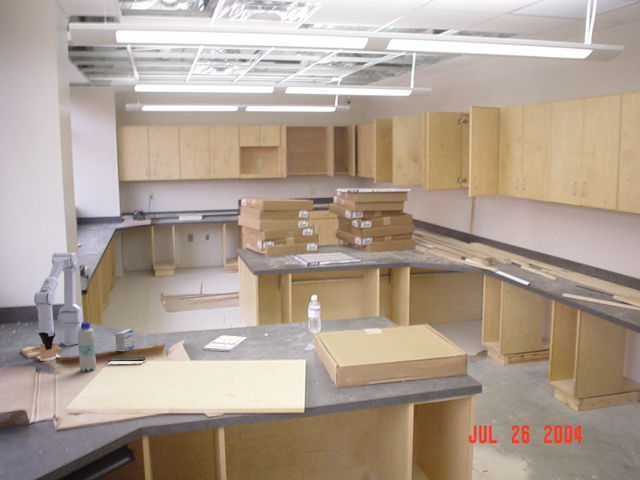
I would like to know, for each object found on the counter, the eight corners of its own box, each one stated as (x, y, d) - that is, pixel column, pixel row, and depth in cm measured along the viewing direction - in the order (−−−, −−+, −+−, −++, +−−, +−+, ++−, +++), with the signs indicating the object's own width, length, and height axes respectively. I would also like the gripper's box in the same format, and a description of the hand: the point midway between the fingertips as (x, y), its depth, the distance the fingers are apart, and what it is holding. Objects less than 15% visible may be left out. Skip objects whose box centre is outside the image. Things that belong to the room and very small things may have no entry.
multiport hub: (111, 362, 241) (111, 357, 240) (145, 361, 241) (145, 356, 241) (108, 365, 236) (107, 360, 236) (142, 365, 237) (142, 359, 236)
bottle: (100, 367, 233) (97, 320, 230) (89, 373, 226) (85, 325, 224) (87, 366, 235) (84, 319, 233) (75, 371, 228) (72, 323, 226)
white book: (247, 340, 271) (246, 336, 270) (229, 352, 251) (229, 348, 251) (221, 338, 274) (221, 334, 274) (202, 350, 255) (202, 346, 255)
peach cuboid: (55, 355, 249) (54, 341, 249) (56, 356, 248) (55, 342, 247) (40, 358, 245) (39, 344, 245) (41, 359, 244) (40, 345, 243)
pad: (55, 354, 252) (55, 352, 252) (60, 358, 246) (60, 357, 246) (36, 357, 247) (36, 356, 247) (41, 362, 241) (41, 361, 241)
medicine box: (125, 352, 253) (124, 333, 252) (116, 351, 254) (115, 333, 253) (134, 347, 261) (133, 328, 260) (125, 346, 262) (124, 328, 261)
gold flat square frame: (53, 345, 266) (53, 341, 265) (62, 352, 255) (61, 347, 255) (20, 351, 257) (20, 347, 257) (28, 358, 246) (28, 354, 246)
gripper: (31, 317, 248) (33, 347, 249) (40, 323, 237) (42, 354, 238) (48, 314, 252) (50, 343, 254) (57, 320, 241) (60, 350, 243)
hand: (47, 348), depth 246 cm, fingers closed on peach cuboid, 2 cm apart
